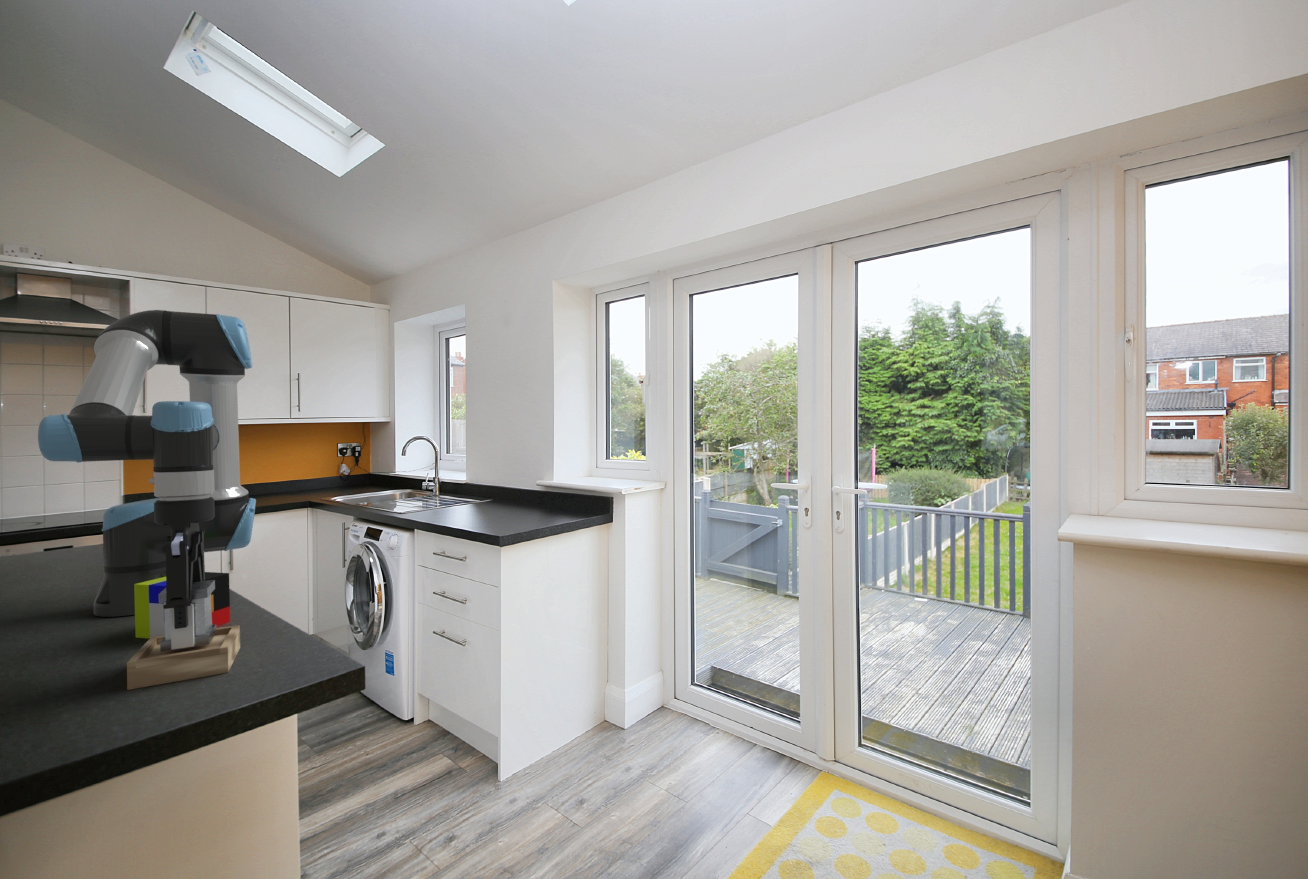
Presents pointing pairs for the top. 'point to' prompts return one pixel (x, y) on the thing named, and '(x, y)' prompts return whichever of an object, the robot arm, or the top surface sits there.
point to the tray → (183, 660)
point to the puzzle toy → (152, 612)
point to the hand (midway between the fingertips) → (188, 639)
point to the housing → (202, 615)
